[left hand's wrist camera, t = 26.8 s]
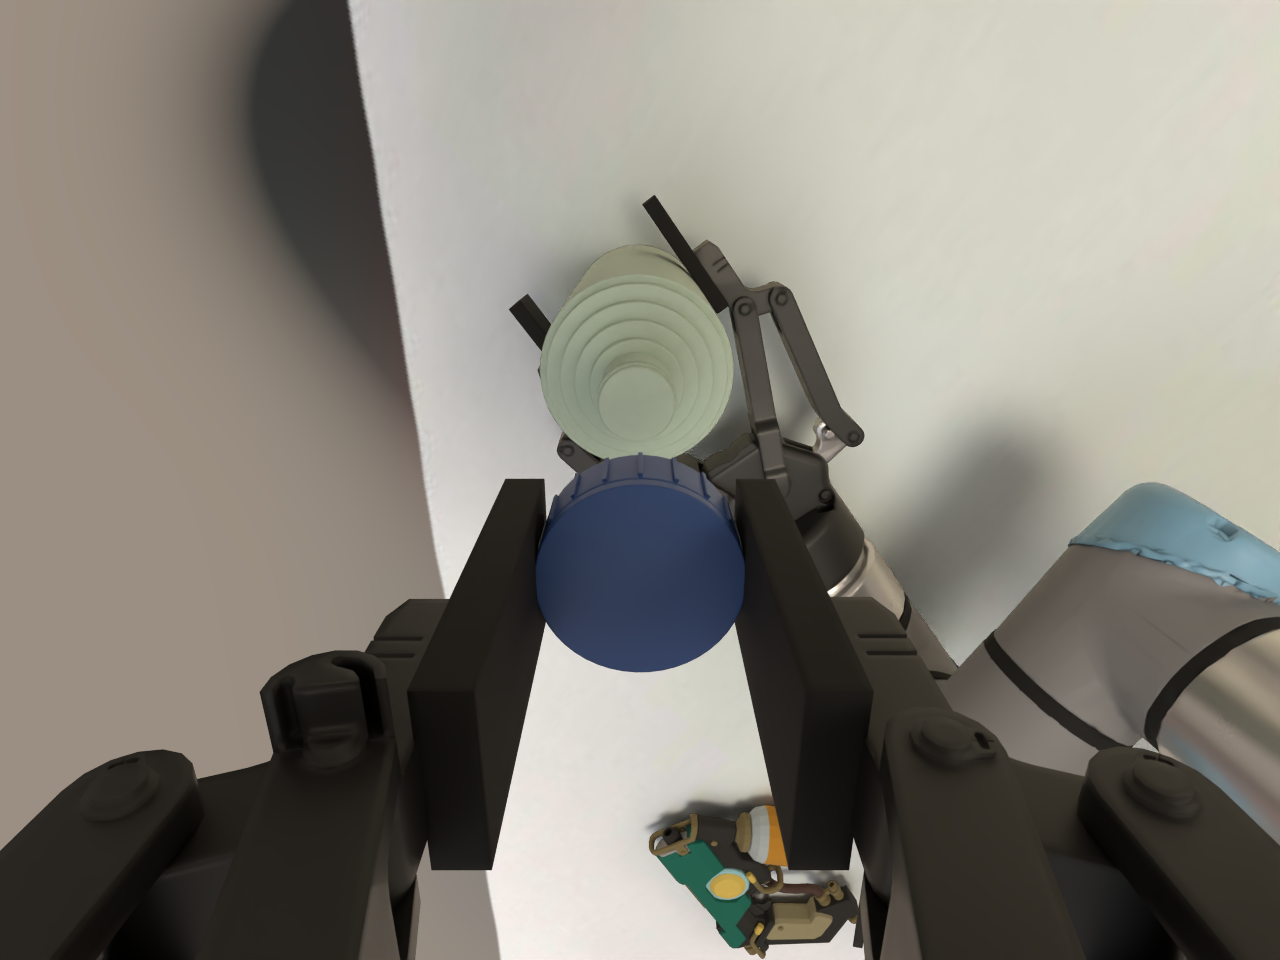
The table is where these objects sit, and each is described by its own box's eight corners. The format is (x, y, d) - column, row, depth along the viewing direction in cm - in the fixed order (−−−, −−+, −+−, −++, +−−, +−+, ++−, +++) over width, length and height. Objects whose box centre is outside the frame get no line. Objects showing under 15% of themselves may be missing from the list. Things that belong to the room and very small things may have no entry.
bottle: (651, 217, 43) (662, 238, 23) (725, 324, 45) (793, 428, 25) (548, 297, 45) (475, 382, 25) (624, 397, 47) (614, 548, 27)
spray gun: (857, 910, 64) (689, 934, 66) (829, 773, 58) (643, 805, 59) (870, 959, 61) (691, 984, 62) (842, 819, 54) (642, 852, 56)
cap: (634, 661, 16) (634, 710, 14) (500, 539, 15) (484, 578, 13) (779, 550, 15) (794, 590, 13) (645, 410, 14) (646, 436, 12)
